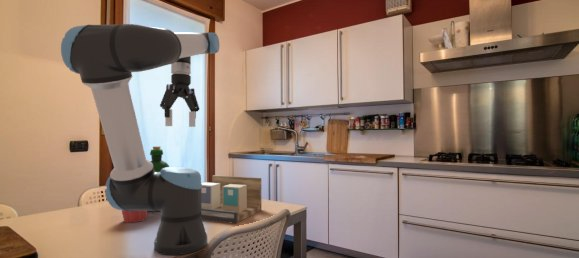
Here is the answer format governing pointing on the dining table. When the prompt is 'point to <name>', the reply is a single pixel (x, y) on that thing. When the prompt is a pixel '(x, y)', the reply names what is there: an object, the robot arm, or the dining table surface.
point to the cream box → (210, 195)
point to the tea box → (234, 197)
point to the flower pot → (134, 216)
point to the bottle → (157, 160)
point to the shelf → (252, 199)
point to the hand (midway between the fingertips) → (181, 126)
